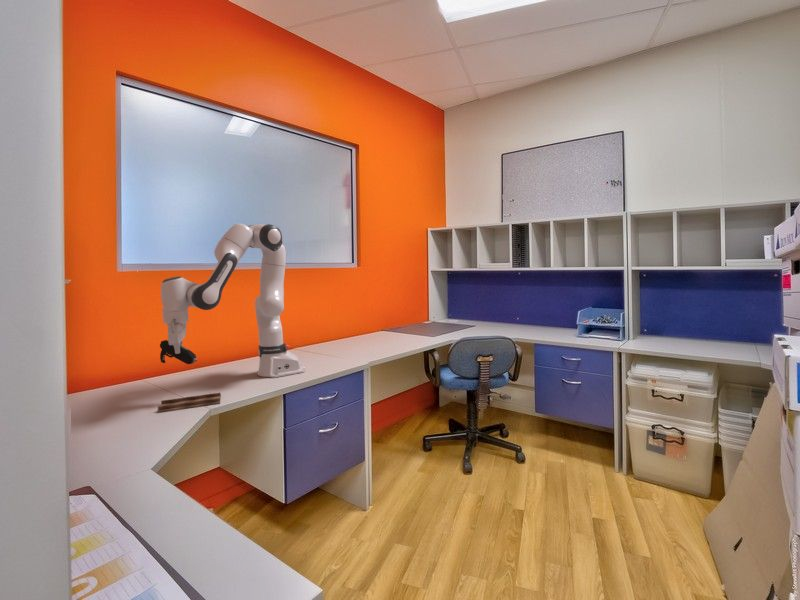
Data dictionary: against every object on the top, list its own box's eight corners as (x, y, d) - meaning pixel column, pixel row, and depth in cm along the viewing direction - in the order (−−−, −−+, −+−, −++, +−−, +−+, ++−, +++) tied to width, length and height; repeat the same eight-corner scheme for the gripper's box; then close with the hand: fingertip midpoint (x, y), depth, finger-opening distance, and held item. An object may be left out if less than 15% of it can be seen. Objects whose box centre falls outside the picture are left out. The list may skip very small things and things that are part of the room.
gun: (187, 377, 157) (196, 356, 155) (153, 359, 158) (161, 337, 156) (192, 375, 159) (200, 354, 158) (158, 357, 160) (166, 335, 159)
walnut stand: (220, 395, 161) (220, 391, 161) (220, 403, 152) (219, 399, 152) (162, 404, 153) (161, 399, 153) (157, 412, 144) (157, 408, 144)
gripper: (181, 320, 148) (184, 356, 149) (188, 314, 166) (190, 346, 168) (161, 322, 145) (165, 358, 147) (171, 315, 164) (173, 347, 166)
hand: (178, 352), depth 157 cm, fingers closed on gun, 4 cm apart
